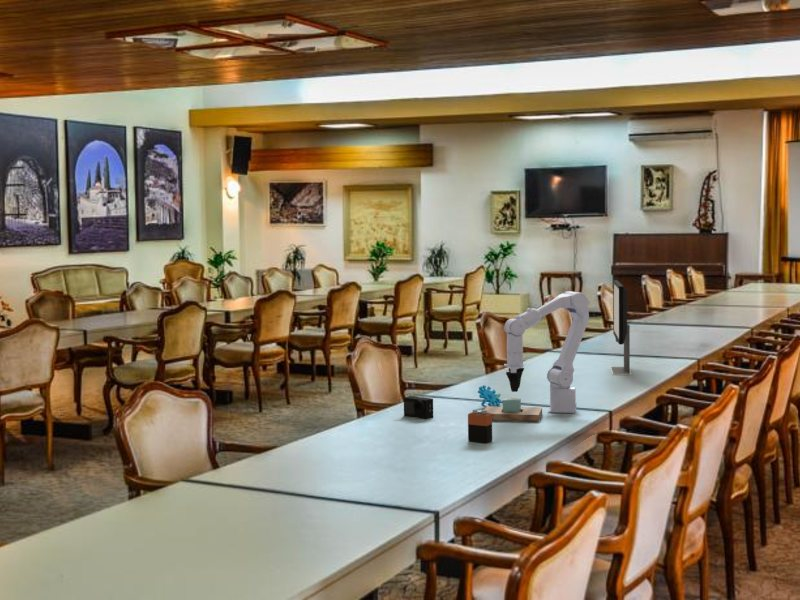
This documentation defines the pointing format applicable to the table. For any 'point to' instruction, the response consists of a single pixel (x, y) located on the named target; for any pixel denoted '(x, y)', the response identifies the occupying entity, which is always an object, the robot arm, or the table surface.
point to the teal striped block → (511, 405)
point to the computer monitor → (621, 326)
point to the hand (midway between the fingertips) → (515, 389)
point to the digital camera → (418, 407)
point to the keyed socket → (515, 414)
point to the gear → (489, 396)
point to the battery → (480, 426)
